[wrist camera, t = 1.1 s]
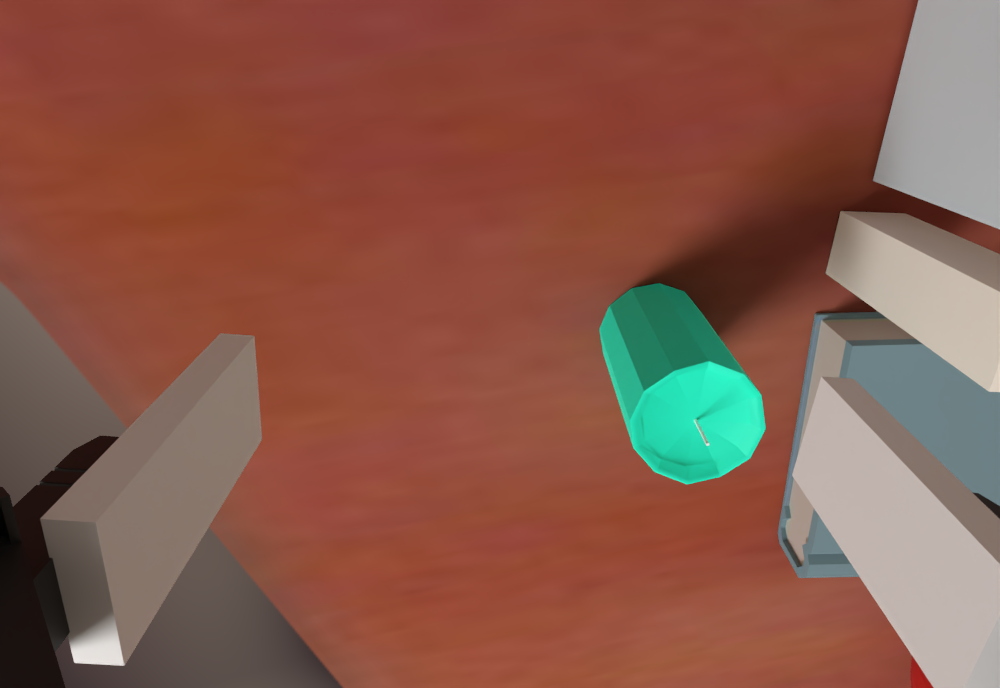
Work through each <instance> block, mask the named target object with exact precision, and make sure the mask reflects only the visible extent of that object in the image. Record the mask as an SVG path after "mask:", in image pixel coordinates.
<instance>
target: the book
mask: <svg viewBox="0 0 1000 688" xmlns="http://www.w3.org/2000/svg"><path fill="white" fill-rule="evenodd" d="M821 376H822V377H836V378H850V379H854V380H855V381H856V382H858V383H859V384H860V385H861V386H862V387H863V388H864V389H865V390H866V391H867V392H868V393H869V394H870V395H871V396H872V397H873V398H874V399H875V400H876V401H877V402H878V403H879V404H880V405H881V406H883V407H884V408H885V409H886V410H887V411H888V412H889V413H890V414H891V415H892V416H893V417H894V418H895V419H896V420H897V421H898V422H899V423H900V424H901V425H902V426H903V427H904V428H905V429H906V430H908V431H909V432H910V433H911V434H912V435H913V436H914V437H915V438H916V439H917V440H918V441H919V442H920V443H921V444H922V445H923V446H924V447H925V448H926V449H927V450H928V451H929V452H930V453H931V454H932V455H934V456H935V457H936V458H937V459H938V460H939V461H940V462H941V463H942V464H943V465H944V466H945V467H946V468H947V469H948V470H949V471H950V472H951V473H952V474H953V475H954V476H955V477H956V478H957V479H959V480H960V481H961V482H962V483H963V484H964V485H965V486H966V487H967V488H968V489H969V490H970V491H971V492H972V493H979V494H981V495H982V496H984V497H986V498H987V499H989V500H990V501H992V502H994V503H995V504H997V505H999V506H1000V392H989V391H987V390H986V389H984V388H983V387H982V386H980V385H979V384H977V383H976V382H975V381H973V380H972V379H971V378H969V377H968V376H966V375H965V374H964V373H962V372H961V371H960V370H958V369H957V368H955V367H954V366H953V365H951V364H950V363H948V362H947V361H946V360H944V359H943V358H942V357H940V356H939V355H937V354H936V353H935V352H933V351H932V350H931V349H929V348H928V347H926V346H925V345H924V344H922V343H921V342H919V341H918V340H917V339H915V338H914V337H913V336H911V335H910V334H908V333H907V332H906V331H904V330H903V329H902V328H900V327H899V326H897V325H896V324H895V323H893V322H892V321H891V320H889V319H888V318H886V317H885V316H884V315H882V314H881V313H879V312H850V313H815V317H814V323H813V329H812V334H811V340H810V346H809V352H808V358H807V364H806V370H805V376H804V382H803V387H802V393H801V399H800V405H799V411H798V417H797V423H796V429H795V435H794V440H793V446H792V452H791V458H790V464H789V470H788V476H787V482H786V487H785V493H784V499H783V505H782V511H781V517H780V523H779V529H778V537H779V543H780V545H781V547H782V549H783V550H784V552H785V554H786V556H787V558H788V559H789V561H790V563H791V565H792V567H793V568H794V570H795V572H796V574H797V576H798V578H821V577H859V575H858V574H857V572H856V571H855V569H854V568H853V566H852V565H851V563H850V562H849V560H848V559H847V557H846V556H845V554H844V553H843V551H842V550H841V548H840V547H839V545H838V544H837V542H836V541H835V539H834V538H833V536H832V535H831V533H830V532H829V530H828V529H827V527H826V526H825V524H824V523H823V521H822V520H821V518H820V517H819V515H818V514H817V512H816V511H815V509H814V508H813V506H812V505H811V503H810V502H809V500H808V499H807V497H806V496H805V494H804V493H803V491H802V490H801V488H800V487H799V485H798V484H797V482H796V481H795V479H794V478H793V476H792V474H793V470H794V467H795V464H796V460H797V457H798V453H799V450H800V447H801V443H802V440H803V437H804V433H805V430H806V426H807V423H808V420H809V416H810V413H811V409H812V406H813V403H814V399H815V396H816V393H817V389H818V386H819V382H820V379H821Z"/></svg>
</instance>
